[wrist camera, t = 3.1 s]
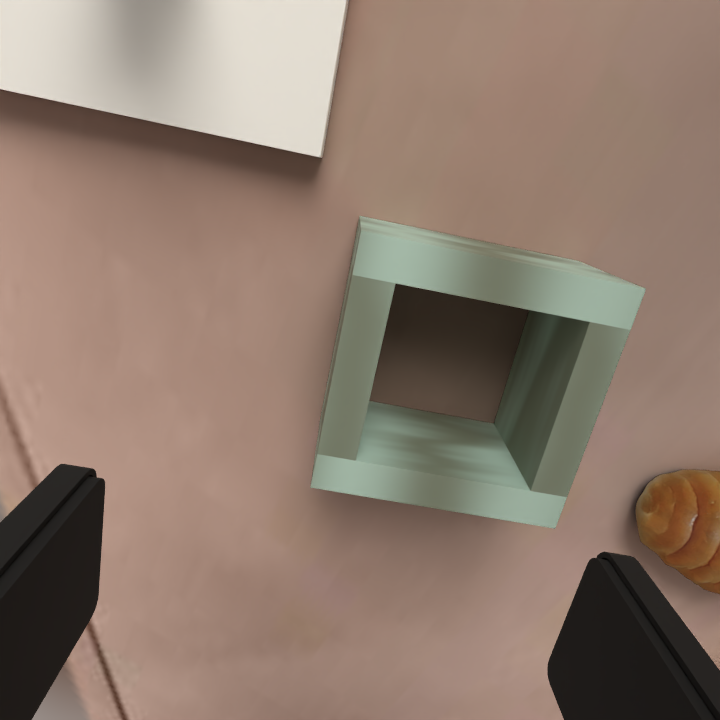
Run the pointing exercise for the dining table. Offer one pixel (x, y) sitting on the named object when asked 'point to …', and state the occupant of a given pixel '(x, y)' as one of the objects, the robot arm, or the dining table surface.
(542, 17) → the dining table surface
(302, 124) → the post board
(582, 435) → the collar
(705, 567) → the pastry
